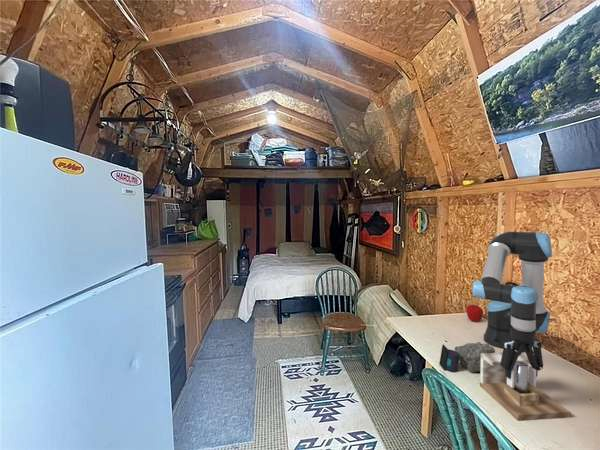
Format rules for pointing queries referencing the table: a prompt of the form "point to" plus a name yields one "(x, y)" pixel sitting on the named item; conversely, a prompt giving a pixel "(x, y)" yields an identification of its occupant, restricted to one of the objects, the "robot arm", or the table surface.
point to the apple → (474, 313)
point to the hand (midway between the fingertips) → (521, 384)
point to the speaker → (449, 359)
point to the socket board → (511, 400)
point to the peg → (520, 377)
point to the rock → (473, 355)
